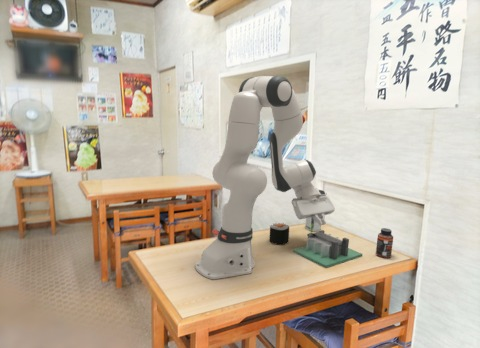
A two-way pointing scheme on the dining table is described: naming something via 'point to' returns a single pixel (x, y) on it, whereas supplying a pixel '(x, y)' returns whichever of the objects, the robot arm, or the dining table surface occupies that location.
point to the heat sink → (321, 245)
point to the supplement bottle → (384, 243)
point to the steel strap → (327, 238)
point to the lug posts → (335, 248)
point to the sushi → (279, 233)
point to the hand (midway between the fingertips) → (322, 224)
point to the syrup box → (312, 224)
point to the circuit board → (326, 261)
